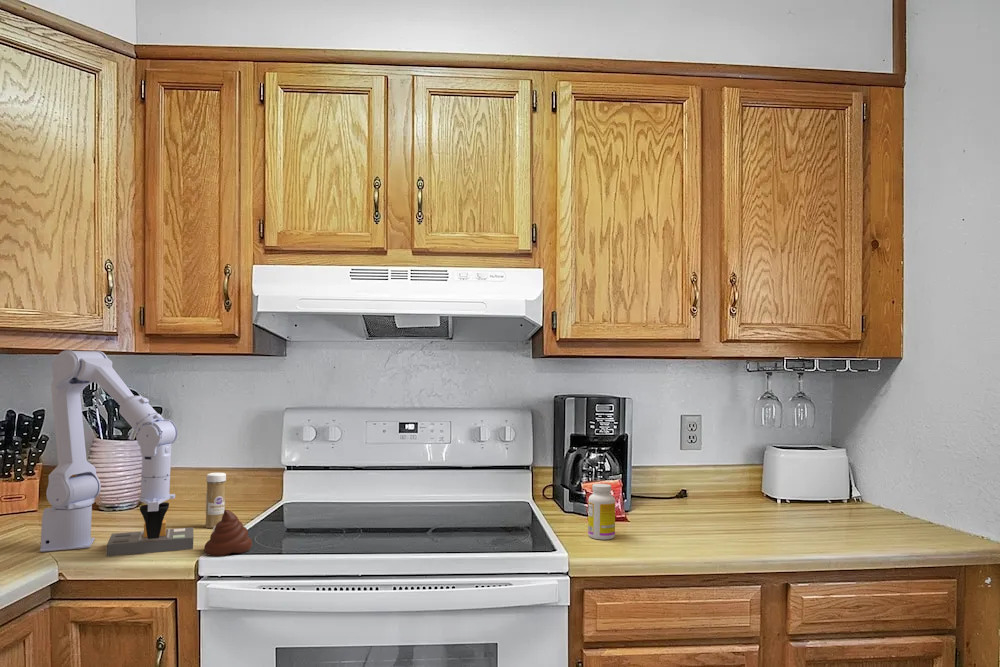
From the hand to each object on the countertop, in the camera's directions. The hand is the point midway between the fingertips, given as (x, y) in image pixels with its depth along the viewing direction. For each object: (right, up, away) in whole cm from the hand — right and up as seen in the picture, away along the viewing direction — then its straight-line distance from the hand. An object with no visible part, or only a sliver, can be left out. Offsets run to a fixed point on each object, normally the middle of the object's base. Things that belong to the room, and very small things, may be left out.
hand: (153, 537), depth 151 cm
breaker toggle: (-2, -1, +5) cm, 5 cm away
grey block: (-3, -3, +4) cm, 6 cm away
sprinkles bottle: (+4, -4, +24) cm, 24 cm away
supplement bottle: (+102, -6, +20) cm, 104 cm away
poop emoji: (+16, -4, +2) cm, 16 cm away
